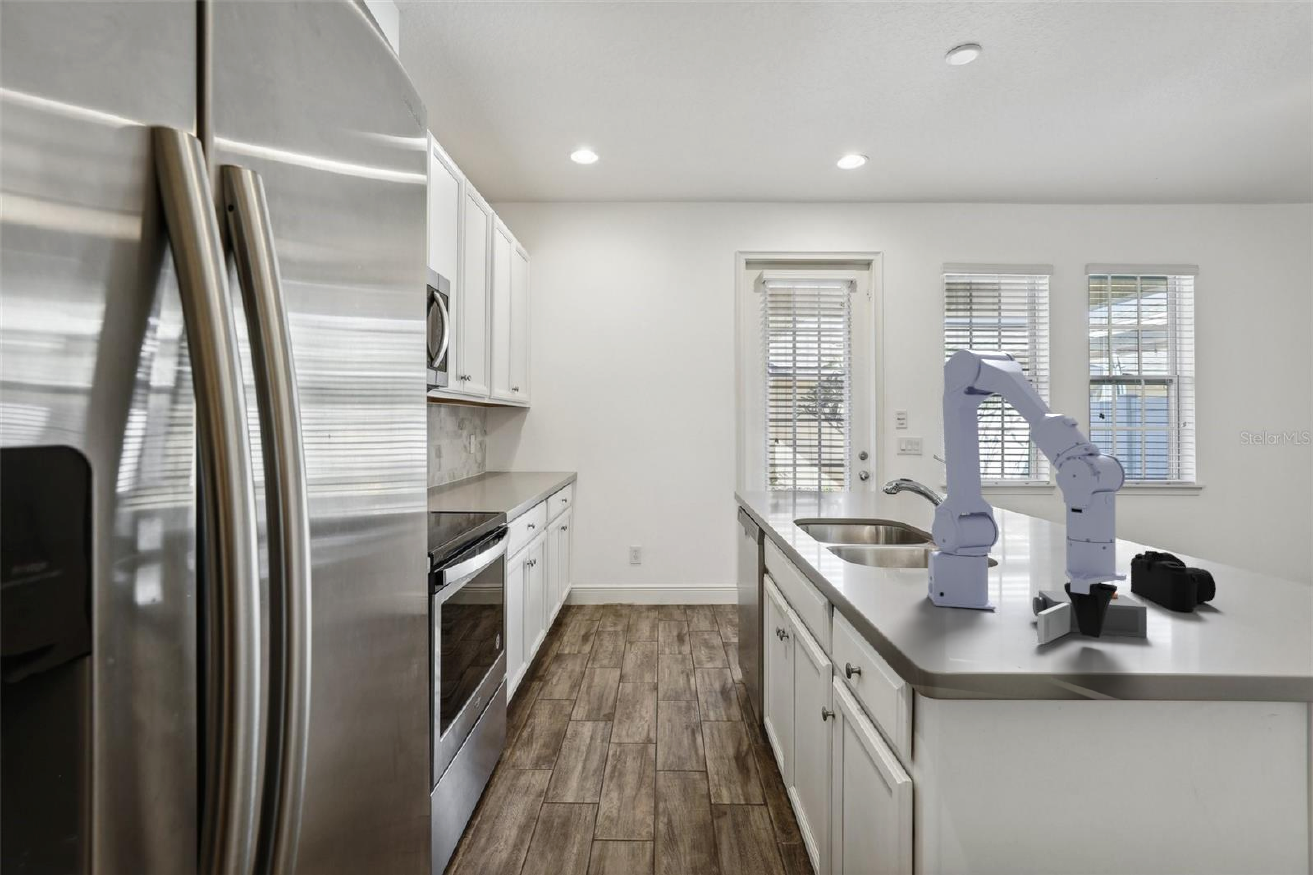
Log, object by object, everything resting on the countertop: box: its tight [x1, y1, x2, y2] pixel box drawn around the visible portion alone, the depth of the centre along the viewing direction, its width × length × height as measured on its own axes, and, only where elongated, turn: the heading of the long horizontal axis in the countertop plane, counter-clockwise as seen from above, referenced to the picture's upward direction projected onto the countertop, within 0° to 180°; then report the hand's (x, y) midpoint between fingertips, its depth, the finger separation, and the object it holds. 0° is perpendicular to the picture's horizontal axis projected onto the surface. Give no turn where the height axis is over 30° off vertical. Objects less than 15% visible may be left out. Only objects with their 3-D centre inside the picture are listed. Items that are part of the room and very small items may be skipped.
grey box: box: [1032, 590, 1148, 638], centre depth 95 cm, size 13×7×5 cm, turn 75°
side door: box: [1036, 602, 1071, 645], centre depth 90 cm, size 10×1×4 cm, turn 127°
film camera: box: [1130, 550, 1217, 614], centre depth 110 cm, size 15×10×9 cm, turn 168°
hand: (1090, 635), depth 87 cm, fingers closed
